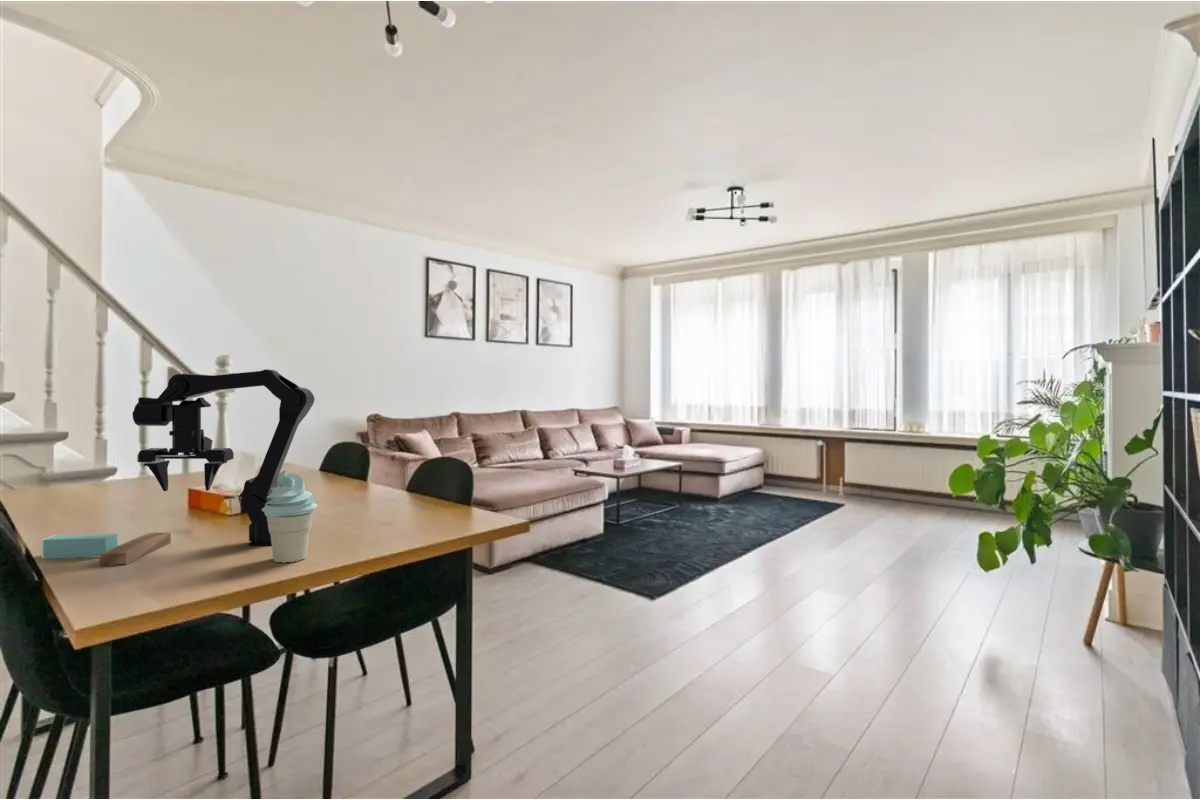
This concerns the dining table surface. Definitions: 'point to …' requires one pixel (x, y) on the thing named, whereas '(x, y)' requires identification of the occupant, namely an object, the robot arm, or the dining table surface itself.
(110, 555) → the walnut strip
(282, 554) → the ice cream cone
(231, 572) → the dining table surface
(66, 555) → the teal block
